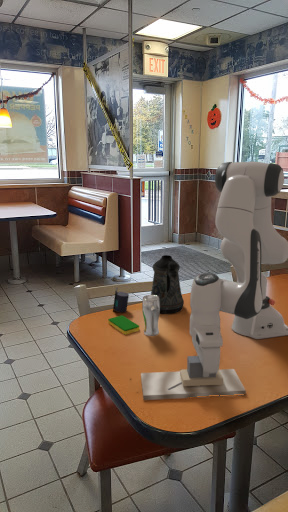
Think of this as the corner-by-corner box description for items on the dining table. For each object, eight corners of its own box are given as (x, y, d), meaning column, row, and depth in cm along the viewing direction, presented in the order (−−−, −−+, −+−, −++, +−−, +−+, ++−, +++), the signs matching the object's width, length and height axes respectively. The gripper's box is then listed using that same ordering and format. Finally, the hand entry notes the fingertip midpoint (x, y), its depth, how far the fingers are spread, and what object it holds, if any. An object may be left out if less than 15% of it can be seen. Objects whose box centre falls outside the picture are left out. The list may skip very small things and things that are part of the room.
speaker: (108, 311, 176) (110, 289, 173) (114, 307, 181) (116, 286, 178) (123, 315, 173) (125, 293, 170) (128, 311, 178) (130, 290, 176)
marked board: (233, 373, 124) (233, 368, 124) (245, 395, 113) (245, 390, 112) (140, 377, 122) (140, 372, 122) (143, 400, 111) (143, 395, 110)
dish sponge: (122, 320, 168) (122, 314, 167) (139, 331, 156) (139, 325, 156) (107, 324, 164) (107, 318, 163) (124, 335, 153) (124, 330, 152)
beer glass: (158, 337, 150) (158, 301, 146) (141, 336, 151) (140, 300, 148) (161, 329, 156) (161, 295, 153) (144, 328, 158) (144, 294, 154)
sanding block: (218, 373, 120) (219, 353, 119) (223, 384, 115) (224, 363, 113) (180, 375, 120) (180, 354, 118) (183, 386, 114) (183, 364, 112)
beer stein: (165, 299, 191) (165, 250, 185) (196, 309, 177) (197, 257, 171) (141, 307, 180) (140, 256, 174) (171, 319, 166) (171, 263, 160)
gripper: (187, 315, 123) (186, 354, 126) (201, 345, 103) (200, 390, 106) (207, 314, 123) (205, 353, 127) (224, 344, 104) (222, 389, 107)
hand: (203, 370), depth 116 cm, fingers closed on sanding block, 4 cm apart
